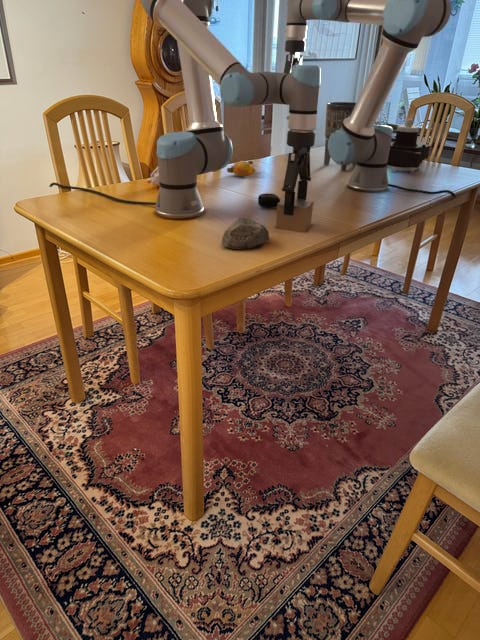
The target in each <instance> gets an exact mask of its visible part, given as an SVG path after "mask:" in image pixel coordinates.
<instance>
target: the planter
mask: <svg viewBox="0 0 480 640" xmlns="http://www.w3.org/2000/svg"><path fill="white" fill-rule="evenodd" d="M356 103H357V102H353V101H333V102H327V103H326V109H325V124H324V125H325V126H324V139H325V144H324V156H323V157H324V158H323V165H325V166H328V165H330V163H331V159H332V158H331V157H330V154H329V150H328V141H329V138H330V136H331V134H332V133H333V132H335V131H336V130H340V128H341V126H342V123H343V121H344V119H346V118H348V117H350V116H351V114H352V112H353V109H354V107H355V105H356ZM355 165H356V163H352V166H353V167H355ZM347 167H348V165H345V164H344V165H341V166H340V170H341V172H345V171H347Z"/></svg>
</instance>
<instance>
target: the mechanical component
mask: <svg viewBox="0 0 480 640" xmlns="http://www.w3.org/2000/svg"><path fill="white" fill-rule="evenodd" d="M413 123H414V119H411V118H409V119H405V124H400V125H398V126H397V128H396V133H395V137H394V142H393V141H392V142H391V145H390V151H389V156H388V162H387V168H386V169H388V170H389V169H390V170H392V172H395V173H397V172H398V171H405V172H407V171H408V172H409V173H414V172H415V171H416V170H418V169H419V168H420V167H422V165H423V161H425V160H427V159H429V155H430V153H431V146H432V145H430V144H426V143H425V142H423V141H418V137H419V132H420V126H418V125H413Z"/></svg>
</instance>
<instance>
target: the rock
mask: <svg viewBox="0 0 480 640" xmlns="http://www.w3.org/2000/svg"><path fill="white" fill-rule="evenodd" d="M269 241H270V233H269V230H268V229H267V228H266V226H265V225H263V224H261V223H259V222H256V221H255V220H252V219H247V218H245V217H241V216H238V217H237V218H236V219H235V221H234V222H233V223H232V224H231V225H229V226H228V227H227V228H226V229H225V231H224V233H223V236H222V239H221V244H222V247H224V248H229V249H231V250H245V249H254V248H257V247H259V246H260V245H264V244H266V242H269Z"/></svg>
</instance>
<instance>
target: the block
mask: <svg viewBox="0 0 480 640" xmlns="http://www.w3.org/2000/svg"><path fill="white" fill-rule="evenodd" d="M284 200H285V197H284V198H282V199H280V202H279V203H278V204H277V207H276V220H275V228H276V229H283V230H289V231H296V232H302V233H306V231H307V230H308V229H309V228H310V226H311V225H312V220H313V211H314V210H313V209H314V200H308V199H306V200H301V199H297V198H295V203H294V215H293V216H291V215H284Z"/></svg>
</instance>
